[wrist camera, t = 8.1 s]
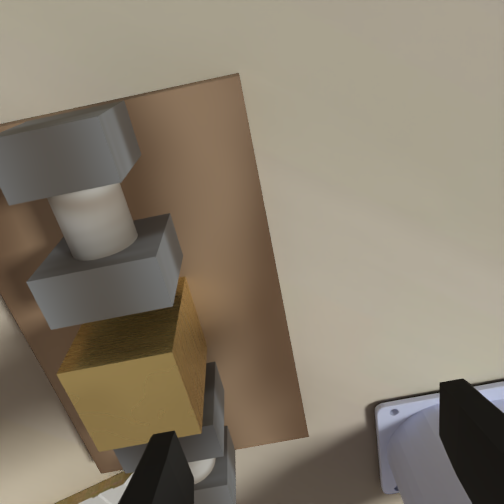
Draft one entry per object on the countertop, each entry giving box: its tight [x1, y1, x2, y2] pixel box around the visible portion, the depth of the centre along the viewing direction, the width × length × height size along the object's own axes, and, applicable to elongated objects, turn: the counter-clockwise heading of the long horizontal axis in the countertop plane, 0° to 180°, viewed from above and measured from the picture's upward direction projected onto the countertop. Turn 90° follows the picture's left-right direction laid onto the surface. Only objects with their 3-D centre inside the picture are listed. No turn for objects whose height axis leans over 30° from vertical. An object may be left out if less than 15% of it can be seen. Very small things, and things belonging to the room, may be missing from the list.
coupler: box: [57, 277, 207, 452], centre depth 17 cm, size 4×4×5 cm
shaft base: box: [0, 73, 309, 504], centre depth 18 cm, size 12×19×5 cm, turn 11°
